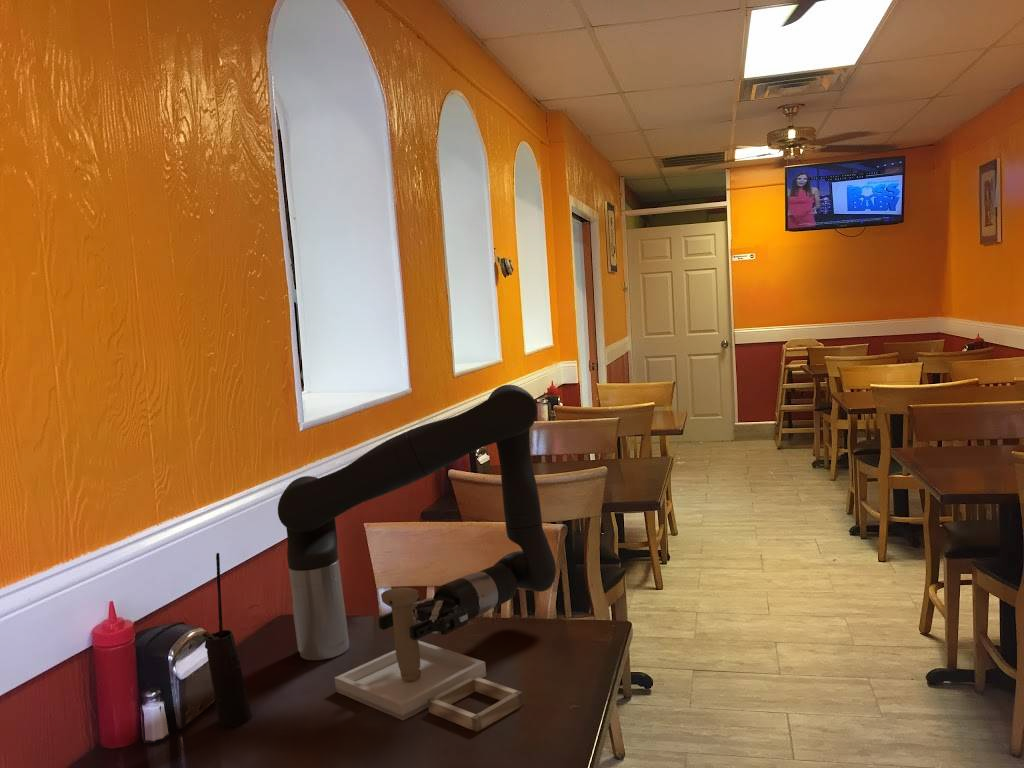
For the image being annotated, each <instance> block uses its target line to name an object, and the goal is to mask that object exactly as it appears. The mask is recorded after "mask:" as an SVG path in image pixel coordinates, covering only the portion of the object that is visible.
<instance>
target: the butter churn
mask: <svg viewBox="0 0 1024 768" xmlns="http://www.w3.org/2000/svg"><path fill="white" fill-rule="evenodd" d="M215 556H216V557H215V561H216V581H217V582H216V585H217V607H218V621H219V622H218V631H217V632H212V633H210V632H209V631H204V632H203V634H202V637H204V638H205V643H206V645H205V647H206V650H207V651H206V655H207V661H208V665H209V672H210V678H211V683H212V689H213V694H214V696H213V699H214V701H215V707H216V713H217V718H218V723H219V724H220V726H221V727H223V728H225V729H227V728H228V729H229V728H236V727H239V726H241V725H243V724H245V723H247V722H248V721H250V720H251V719H252V716H253V714H252V709H251V706H250V702H249V697H248V694H247V689H246V686H245V685H246V683H245V680H244V677H243V676H244V675H243V672H242V667H241V662H240V660H239V655H238V649H237V645H236V640H235V636H234V634H233V631H231V630H230V629H224V627H223V612H222V611H223V609H222V592H221V590H222V589H221V565H220V563H221V561H220V552H217V553H216V554H215Z"/></svg>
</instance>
